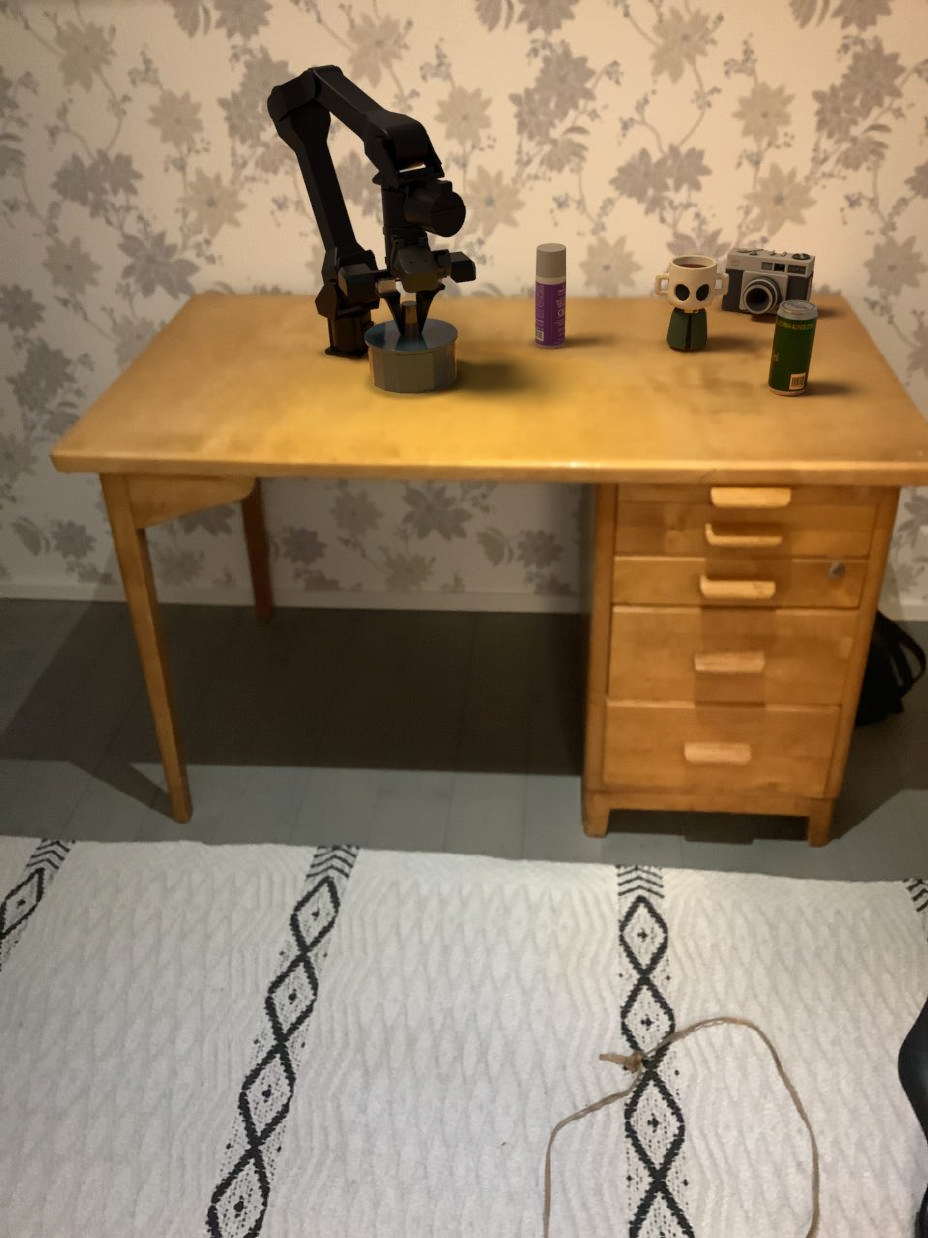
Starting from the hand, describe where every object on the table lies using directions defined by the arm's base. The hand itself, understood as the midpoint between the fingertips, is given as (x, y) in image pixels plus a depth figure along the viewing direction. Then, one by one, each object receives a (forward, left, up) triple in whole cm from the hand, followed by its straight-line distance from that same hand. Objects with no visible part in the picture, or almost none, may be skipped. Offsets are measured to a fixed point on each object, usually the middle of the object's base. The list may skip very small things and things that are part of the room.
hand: (410, 332), depth 158 cm
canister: (0, 0, -7) cm, 7 cm away
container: (+13, +21, -7) cm, 26 cm away
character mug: (+33, +28, -7) cm, 44 cm away
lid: (0, 0, -1) cm, 1 cm away
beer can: (+51, +17, -7) cm, 54 cm away
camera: (+40, +46, -7) cm, 61 cm away
